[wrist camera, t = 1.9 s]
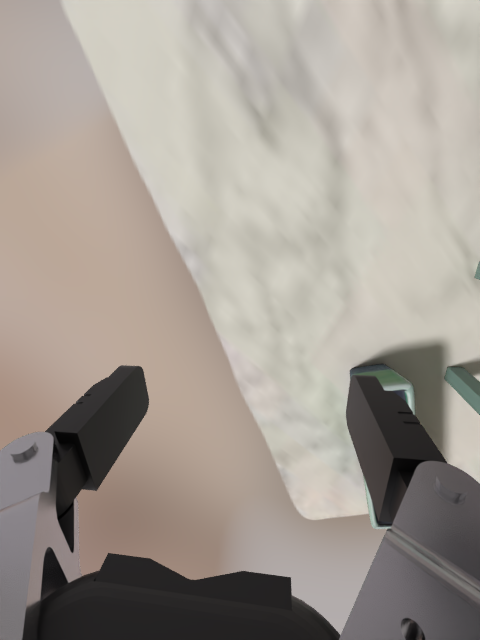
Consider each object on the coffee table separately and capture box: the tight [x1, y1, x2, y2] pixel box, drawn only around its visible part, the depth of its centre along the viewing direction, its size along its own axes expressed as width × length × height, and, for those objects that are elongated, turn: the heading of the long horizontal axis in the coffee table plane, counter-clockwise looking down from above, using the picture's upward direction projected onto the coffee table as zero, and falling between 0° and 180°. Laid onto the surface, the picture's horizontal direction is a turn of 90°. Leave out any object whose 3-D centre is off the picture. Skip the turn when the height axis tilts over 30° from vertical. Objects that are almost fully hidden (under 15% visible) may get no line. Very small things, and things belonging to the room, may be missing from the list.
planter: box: [350, 364, 415, 529], centre depth 42 cm, size 28×7×7 cm, turn 15°
